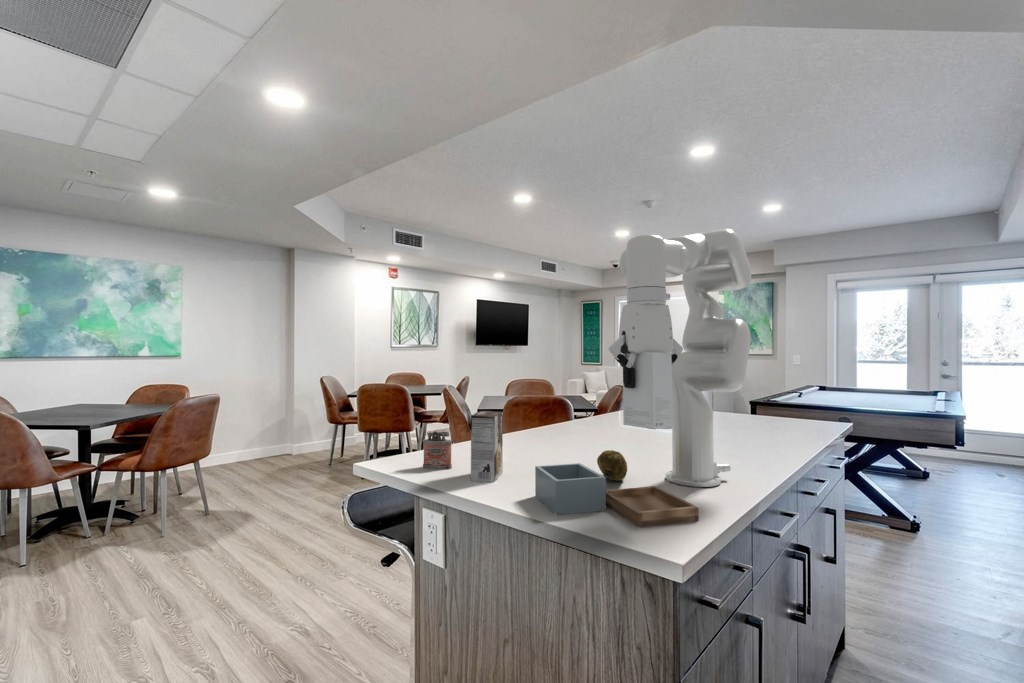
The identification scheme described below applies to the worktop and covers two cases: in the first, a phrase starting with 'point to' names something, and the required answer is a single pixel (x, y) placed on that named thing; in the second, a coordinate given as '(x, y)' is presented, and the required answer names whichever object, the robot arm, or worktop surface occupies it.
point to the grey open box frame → (570, 488)
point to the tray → (650, 506)
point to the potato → (612, 465)
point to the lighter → (437, 451)
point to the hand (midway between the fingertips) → (646, 386)
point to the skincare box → (650, 393)
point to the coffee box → (486, 446)
